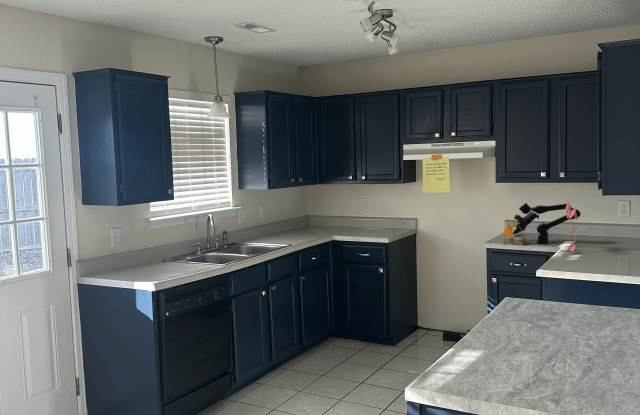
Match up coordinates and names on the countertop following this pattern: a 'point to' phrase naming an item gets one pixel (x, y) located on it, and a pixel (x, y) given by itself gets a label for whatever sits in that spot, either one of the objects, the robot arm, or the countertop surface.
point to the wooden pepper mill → (514, 230)
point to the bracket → (508, 229)
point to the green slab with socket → (514, 240)
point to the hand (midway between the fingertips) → (512, 233)
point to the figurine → (570, 214)
